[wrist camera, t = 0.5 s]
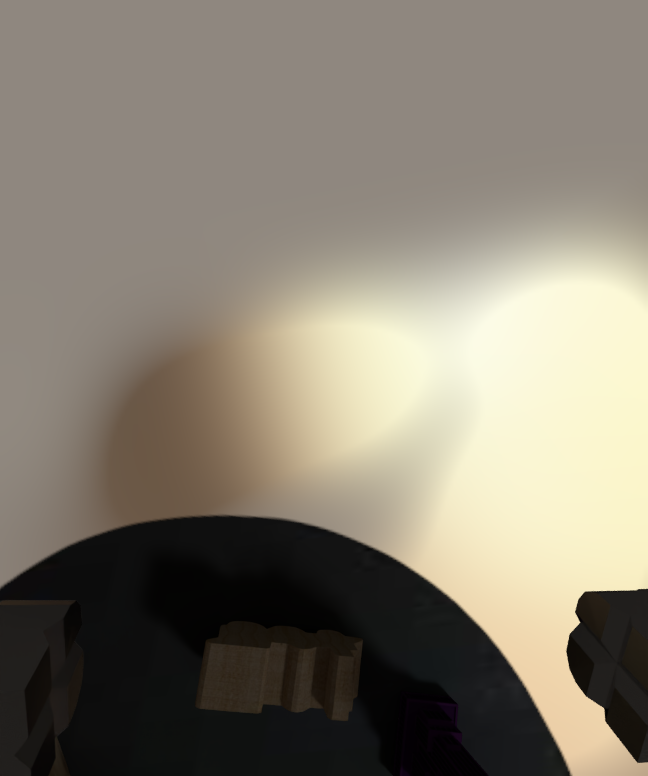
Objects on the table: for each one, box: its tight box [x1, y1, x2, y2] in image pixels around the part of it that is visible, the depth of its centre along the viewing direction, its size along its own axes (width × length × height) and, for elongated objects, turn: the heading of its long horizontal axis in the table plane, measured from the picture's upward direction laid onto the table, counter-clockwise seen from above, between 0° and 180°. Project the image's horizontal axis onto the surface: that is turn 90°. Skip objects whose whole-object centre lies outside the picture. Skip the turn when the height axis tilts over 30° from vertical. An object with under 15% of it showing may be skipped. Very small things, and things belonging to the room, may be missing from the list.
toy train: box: [195, 621, 363, 721], centre depth 51 cm, size 6×17×10 cm, turn 83°
